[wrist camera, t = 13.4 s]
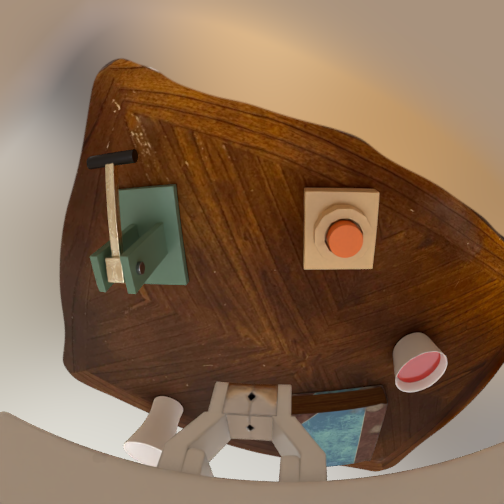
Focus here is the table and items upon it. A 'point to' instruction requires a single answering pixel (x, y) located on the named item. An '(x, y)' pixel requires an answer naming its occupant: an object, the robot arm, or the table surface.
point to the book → (343, 421)
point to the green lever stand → (147, 240)
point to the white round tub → (417, 362)
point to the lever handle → (113, 206)
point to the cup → (155, 431)
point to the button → (344, 239)
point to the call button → (331, 211)
